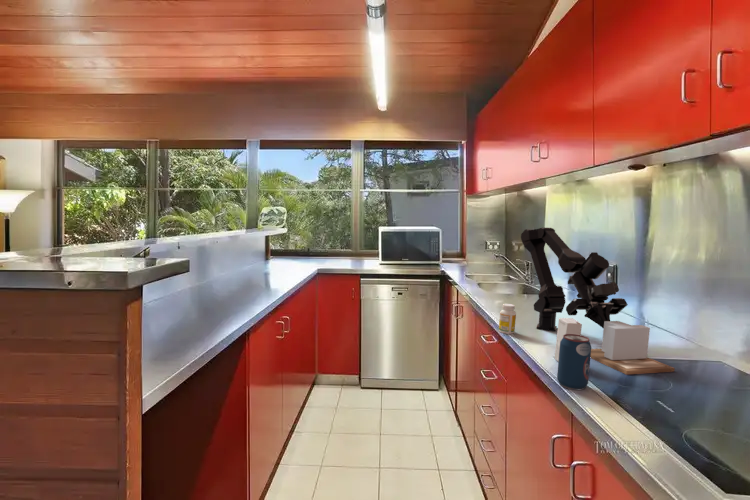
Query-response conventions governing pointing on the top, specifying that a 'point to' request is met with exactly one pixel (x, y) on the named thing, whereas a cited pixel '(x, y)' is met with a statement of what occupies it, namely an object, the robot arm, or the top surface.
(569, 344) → the soda can
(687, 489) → the top surface
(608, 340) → the white block
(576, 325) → the skincare box
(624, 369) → the brown board
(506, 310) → the supplement bottle
